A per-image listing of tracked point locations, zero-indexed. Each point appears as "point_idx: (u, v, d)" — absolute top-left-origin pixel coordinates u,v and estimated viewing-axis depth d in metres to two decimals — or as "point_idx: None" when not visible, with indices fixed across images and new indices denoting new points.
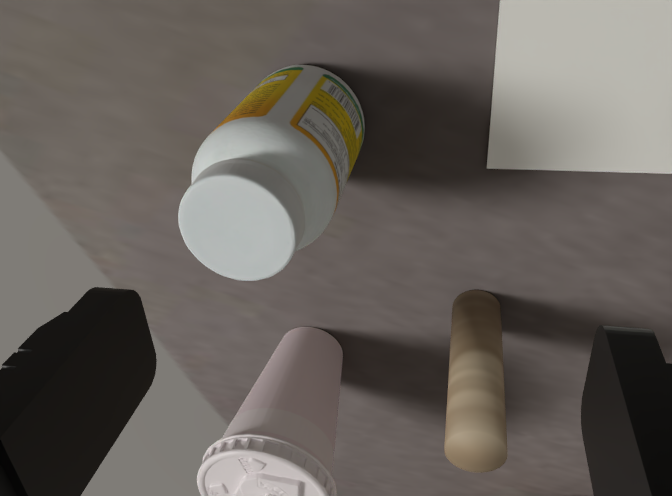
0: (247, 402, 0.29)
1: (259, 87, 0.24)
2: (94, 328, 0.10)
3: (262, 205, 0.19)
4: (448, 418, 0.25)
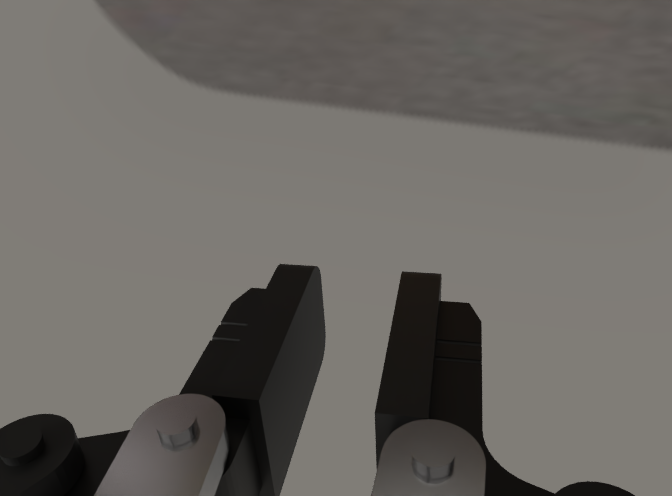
0: None
1: None
2: (300, 301, 0.10)
3: None
4: None
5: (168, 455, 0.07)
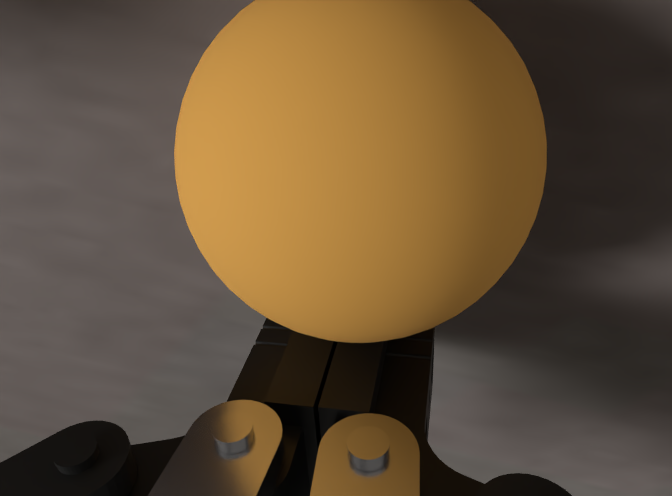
0: None
1: None
2: None
3: None
4: None
5: (227, 464, 0.07)
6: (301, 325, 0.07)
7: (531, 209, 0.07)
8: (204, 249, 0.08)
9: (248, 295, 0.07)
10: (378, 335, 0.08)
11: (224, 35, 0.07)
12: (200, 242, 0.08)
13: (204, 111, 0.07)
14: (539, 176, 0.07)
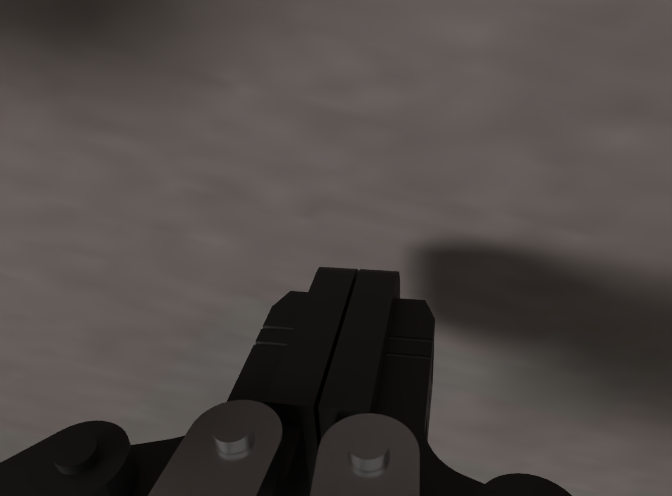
0: None
1: None
2: (344, 305, 0.10)
3: None
4: None
5: (227, 464, 0.07)
6: None
7: None
8: None
9: None
10: None
11: None
12: None
13: None
14: None
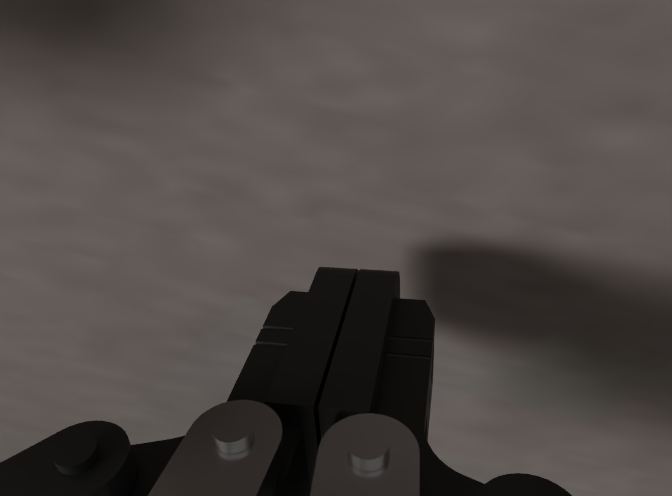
0: None
1: None
2: (344, 305, 0.10)
3: None
4: None
5: (227, 464, 0.07)
6: None
7: None
8: None
9: None
10: None
11: None
12: None
13: None
14: None
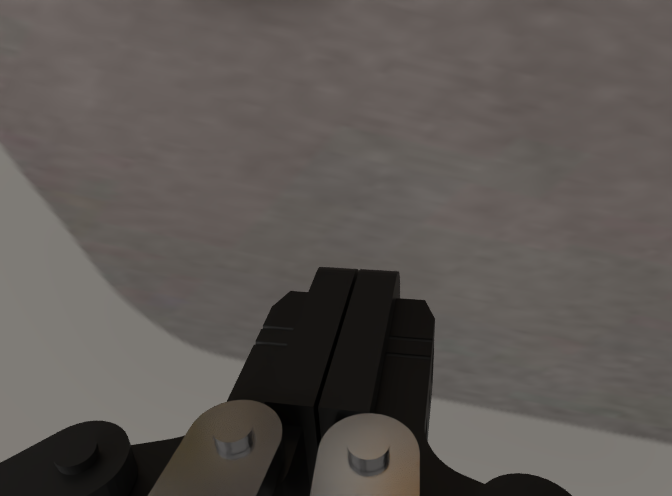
0: None
1: None
2: (344, 304, 0.10)
3: None
4: None
5: (227, 464, 0.07)
6: None
7: None
8: None
9: None
10: None
11: None
12: None
13: None
14: None
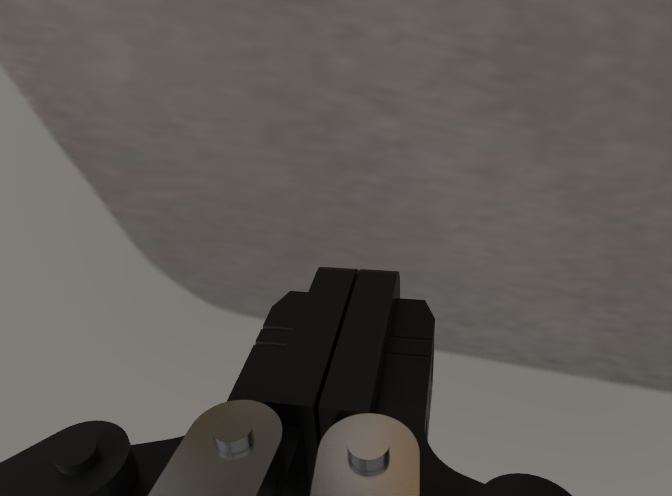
0: None
1: None
2: (344, 305, 0.10)
3: None
4: None
5: (227, 464, 0.07)
6: None
7: None
8: None
9: None
10: None
11: None
12: None
13: None
14: None
